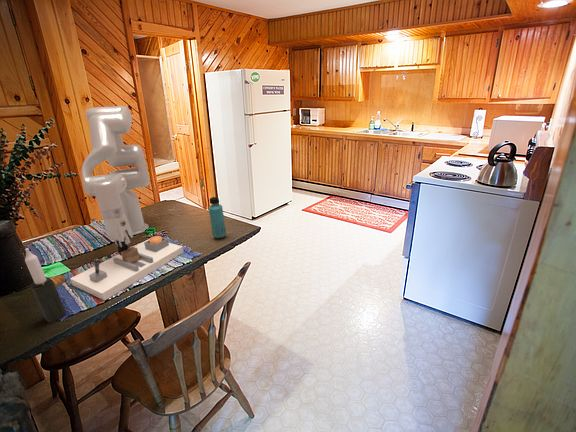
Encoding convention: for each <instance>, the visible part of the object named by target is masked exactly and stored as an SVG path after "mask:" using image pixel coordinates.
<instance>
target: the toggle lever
mask: <svg viewBox="0 0 576 432" xmlns="http://www.w3.org/2000/svg"><path fill="white" fill-rule="evenodd" d="M93 263H94V266H95V273H96V274H98V273H99V264H100V263H101V259H100V258H94V260H93Z"/></svg>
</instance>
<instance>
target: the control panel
mask: <svg viewBox="0 0 576 432" xmlns="http://www.w3.org/2000/svg"><path fill="white" fill-rule="evenodd" d="M149 239H150V238H148V239H147V240H145V241H143V242H140V243H138V244H136V245H134V246H133V247H135V248H137V250H138V254H139V257H140V259H139V260H137V261H136V262H134V263H129V262H126V261H123V258H122V256H121V255H120V254H117V255H114V256H112V257H110V258H108V259H107V260H106V259H105V260H104V261H102V262H100V263H99V273H98V274H96V273H95V265H94V266H93V267H90V268H88V269H86V270H84V271H82V272H80V273H79V274H75V275H74V276H72V277H71V278H70V282H71V285H72V286H73V287H75V288H78V289H80V290H81V291H83V292H86V293H88V294H90V295H92V296H94V297H96V298H98V299H100V300H102V301H104V302H105V301H106V300H108V299H110V298H111V297H113V296H115V295H116V294H118V293H120V292H122V291H123V290H125V289H126V288H127V287H129V286H131V285H133V284H134V283H136V282H138V281H139V280H140V279H142V278H144V277H146V276H148V275H149V274H151V273H153V272H154V271H156V270H158V269H159V268H161V267H162V266H164V265H166V264H167V263H169V262H171V261H172V260H174V259H175V257H176V258H177V257H179V256H180V254H181V255H182V254H184V247H183V246H182V245H179V244H175V243H171V242H169V240H168V238H166V237H162V242H160V243H158V244H156V245H153V244H150V241H149ZM178 255H179V256H178ZM173 258H174V259H173ZM170 260H171V261H170Z"/></svg>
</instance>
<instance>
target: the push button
mask: <svg viewBox="0 0 576 432" xmlns="http://www.w3.org/2000/svg"><path fill="white" fill-rule="evenodd" d="M162 238H163V237H162V236H161V235H154V236H151V237H150V238H148V239H149V241H150V244H153V245H156V244H158V243H160V242H162Z"/></svg>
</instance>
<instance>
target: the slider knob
mask: <svg viewBox="0 0 576 432" xmlns="http://www.w3.org/2000/svg"><path fill="white" fill-rule="evenodd" d="M121 255H122V258H123V261H126V262H129V263H134V262H136V261H137V260H139V259H140V257H139V254H138V250H137V248H135V247H134V246H131V247H128V249H127V250H125V251H123V252H121Z"/></svg>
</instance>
